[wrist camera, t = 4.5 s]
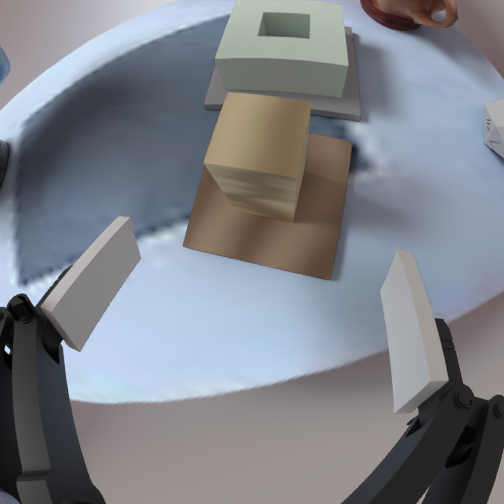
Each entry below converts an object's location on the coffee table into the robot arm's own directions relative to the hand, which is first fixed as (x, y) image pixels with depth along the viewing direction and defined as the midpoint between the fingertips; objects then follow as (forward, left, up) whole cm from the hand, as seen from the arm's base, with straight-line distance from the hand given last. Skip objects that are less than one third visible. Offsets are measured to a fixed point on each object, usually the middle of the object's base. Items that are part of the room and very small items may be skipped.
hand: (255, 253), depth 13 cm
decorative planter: (+15, +39, -11) cm, 43 cm away
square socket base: (-1, +24, -11) cm, 26 cm away
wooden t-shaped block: (-1, +7, -11) cm, 13 cm away
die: (+27, +19, -11) cm, 35 cm away
